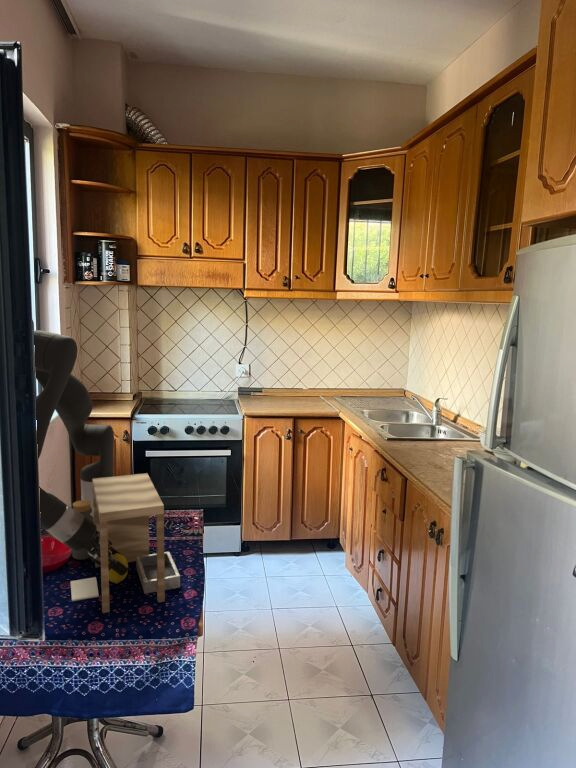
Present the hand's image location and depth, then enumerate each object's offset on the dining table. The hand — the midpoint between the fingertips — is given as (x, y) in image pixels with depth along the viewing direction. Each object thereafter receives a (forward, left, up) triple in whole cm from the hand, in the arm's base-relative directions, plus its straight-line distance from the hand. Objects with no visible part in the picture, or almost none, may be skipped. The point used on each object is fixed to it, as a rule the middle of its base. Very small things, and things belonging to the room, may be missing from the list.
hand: (123, 566), depth 138 cm
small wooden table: (0, +1, -4) cm, 4 cm away
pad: (0, -9, -4) cm, 10 cm away
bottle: (-19, -9, -5) cm, 21 cm away
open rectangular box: (0, +8, -4) cm, 9 cm away
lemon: (0, -2, -4) cm, 5 cm away
